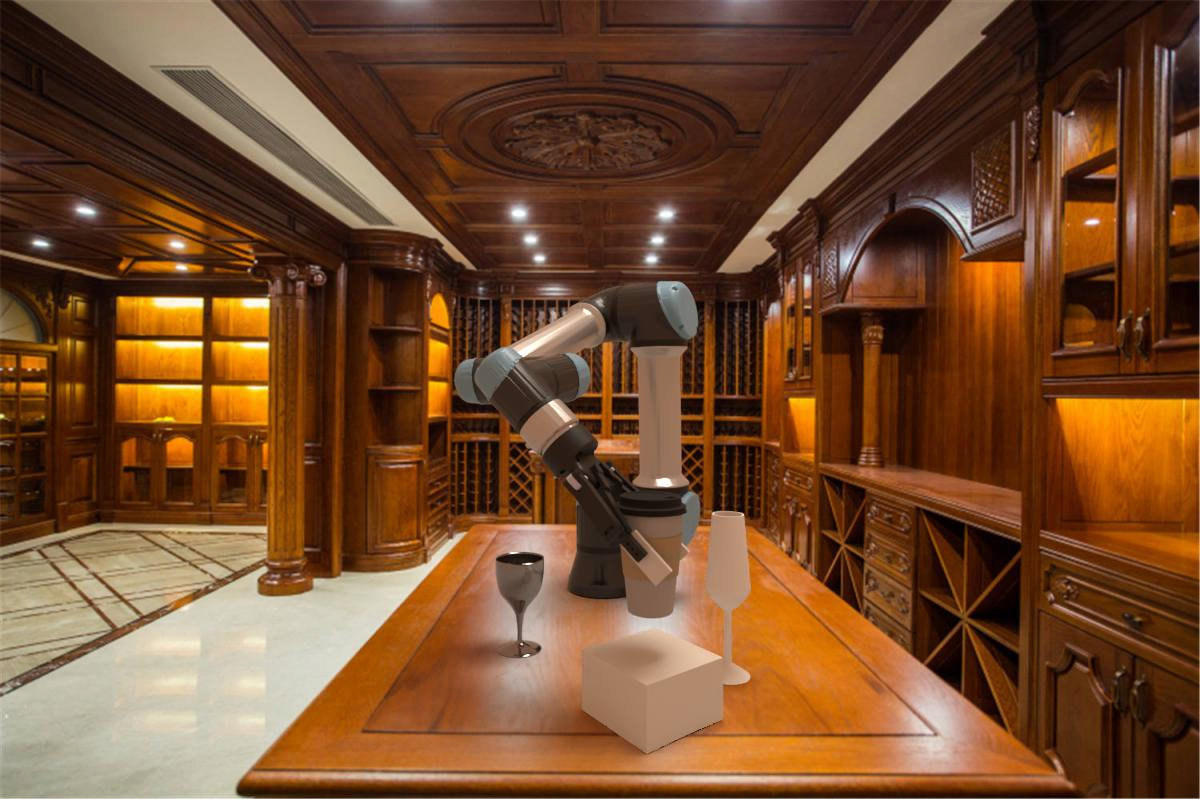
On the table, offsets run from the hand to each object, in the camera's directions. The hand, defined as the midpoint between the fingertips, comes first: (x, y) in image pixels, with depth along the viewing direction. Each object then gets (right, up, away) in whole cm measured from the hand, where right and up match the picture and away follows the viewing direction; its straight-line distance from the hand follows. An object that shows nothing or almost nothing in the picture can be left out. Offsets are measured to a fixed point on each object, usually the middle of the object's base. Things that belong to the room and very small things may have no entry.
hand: (673, 567), depth 80 cm
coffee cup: (-3, -6, +1) cm, 7 cm away
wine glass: (-23, -20, +23) cm, 38 cm away
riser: (-3, -20, +1) cm, 20 cm away
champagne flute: (+10, -20, +13) cm, 26 cm away
